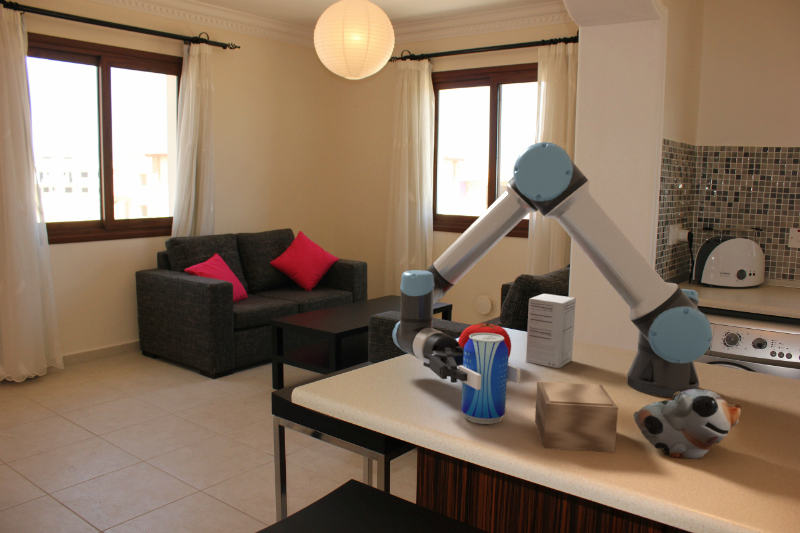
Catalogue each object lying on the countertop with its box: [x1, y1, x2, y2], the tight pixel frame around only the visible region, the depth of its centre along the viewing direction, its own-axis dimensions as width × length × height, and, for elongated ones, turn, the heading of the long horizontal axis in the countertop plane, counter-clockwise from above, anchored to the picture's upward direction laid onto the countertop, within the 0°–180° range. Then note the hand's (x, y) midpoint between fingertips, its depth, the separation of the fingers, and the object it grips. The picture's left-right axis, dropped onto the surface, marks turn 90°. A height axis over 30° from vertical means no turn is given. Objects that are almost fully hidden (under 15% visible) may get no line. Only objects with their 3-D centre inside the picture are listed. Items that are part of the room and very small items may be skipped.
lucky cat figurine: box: [632, 389, 743, 460], centre depth 108 cm, size 15×12×14 cm
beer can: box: [460, 333, 509, 425], centre depth 119 cm, size 8×8×16 cm
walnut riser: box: [534, 381, 619, 453], centre depth 112 cm, size 12×12×8 cm
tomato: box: [457, 322, 512, 359], centre depth 155 cm, size 12×13×11 cm
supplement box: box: [525, 293, 577, 369], centre depth 160 cm, size 10×9×17 cm
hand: (499, 379), depth 115 cm, fingers closed on beer can, 8 cm apart
